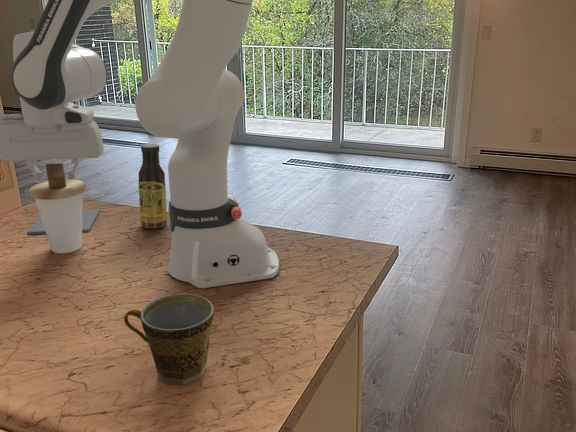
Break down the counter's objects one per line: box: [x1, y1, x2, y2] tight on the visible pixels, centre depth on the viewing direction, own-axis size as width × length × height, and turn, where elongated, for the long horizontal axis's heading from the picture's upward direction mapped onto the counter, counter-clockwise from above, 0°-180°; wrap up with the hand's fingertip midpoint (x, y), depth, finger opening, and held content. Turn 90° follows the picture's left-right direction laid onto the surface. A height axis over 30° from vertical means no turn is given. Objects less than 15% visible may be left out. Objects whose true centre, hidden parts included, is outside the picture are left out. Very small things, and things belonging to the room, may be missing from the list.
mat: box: [26, 208, 101, 235], centre depth 136 cm, size 14×14×1 cm
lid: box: [29, 161, 87, 200], centre depth 117 cm, size 11×11×6 cm
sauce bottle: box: [138, 143, 168, 230], centre depth 131 cm, size 7×6×20 cm
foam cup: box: [34, 193, 84, 254], centre depth 120 cm, size 10×9×13 cm
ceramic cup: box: [123, 293, 215, 386], centre depth 79 cm, size 13×10×10 cm
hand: (56, 179), depth 117 cm, fingers open, 5 cm apart
